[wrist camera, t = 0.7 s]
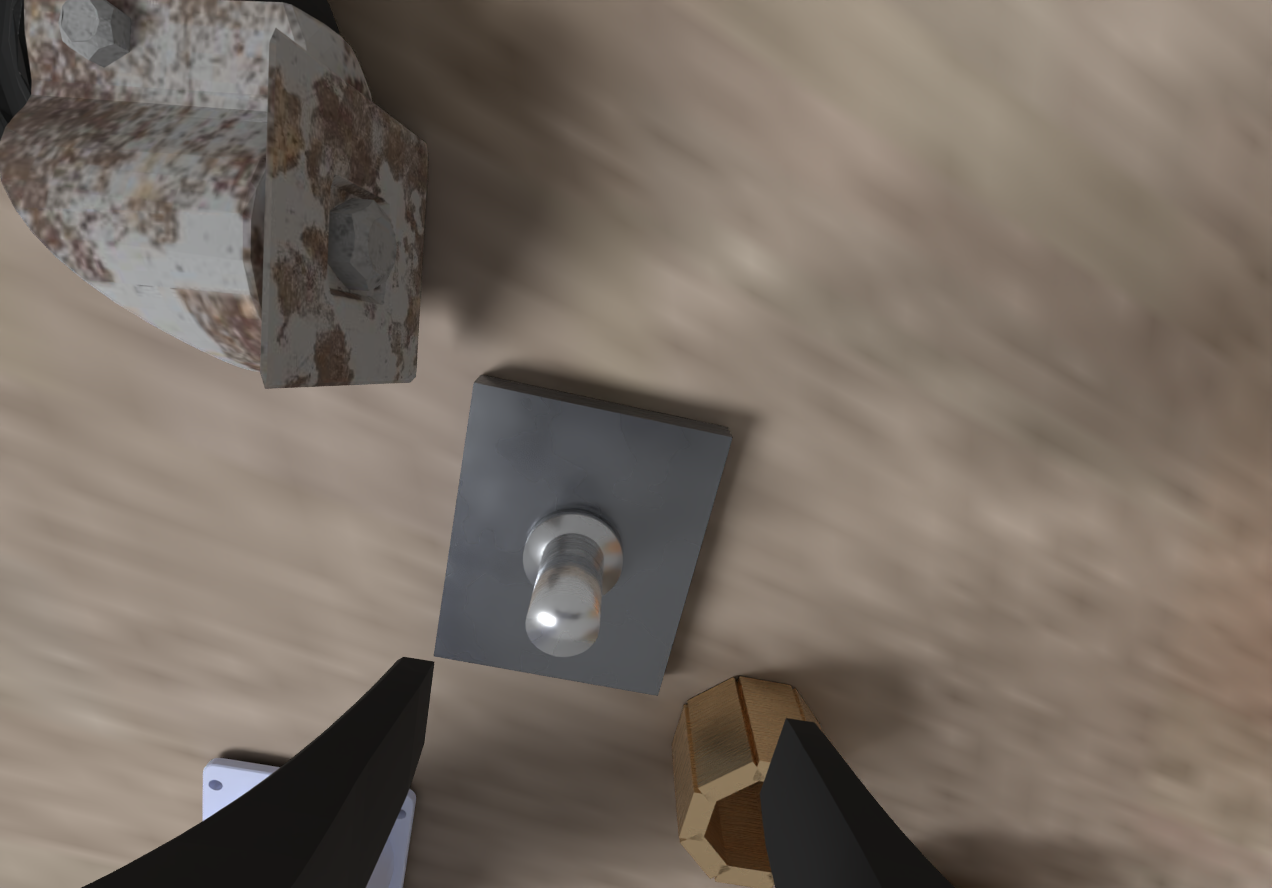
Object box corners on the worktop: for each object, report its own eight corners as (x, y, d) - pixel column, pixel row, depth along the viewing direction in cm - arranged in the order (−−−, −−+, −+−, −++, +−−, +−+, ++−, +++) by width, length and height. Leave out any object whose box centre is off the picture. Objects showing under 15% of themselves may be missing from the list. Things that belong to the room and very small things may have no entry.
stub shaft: (656, 677, 24) (663, 788, 20) (441, 638, 24) (395, 744, 19) (728, 427, 21) (756, 489, 17) (481, 374, 21) (437, 423, 16)
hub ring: (791, 799, 27) (818, 897, 23) (661, 778, 26) (666, 874, 22) (834, 693, 25) (870, 779, 21) (695, 668, 24) (707, 751, 21)
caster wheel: (128, -42, 19) (459, -30, 18) (127, 350, 20) (434, 384, 19) (-184, -259, 12) (308, -262, 11) (-154, 342, 14) (287, 392, 13)
